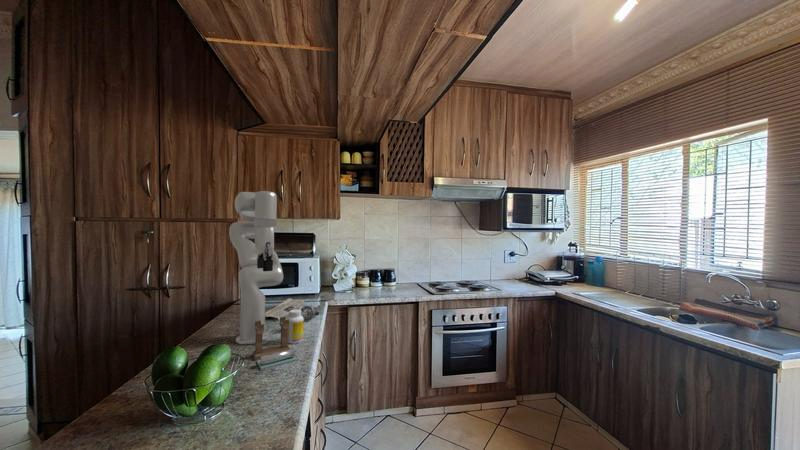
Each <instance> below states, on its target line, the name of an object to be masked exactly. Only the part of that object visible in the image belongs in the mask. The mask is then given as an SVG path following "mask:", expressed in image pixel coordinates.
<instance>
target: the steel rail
mask: <svg viewBox="0 0 800 450" xmlns="http://www.w3.org/2000/svg"><path fill="white" fill-rule="evenodd" d="M292 357H296V352H295V348H294V347H293V348H290V349H288V350H284V351H280V352H276V353H272V354H267V355H263V356H261V357H260V363H261V365H265V364H269V363H273V362H277V361H280V360H284V359H288V358H292Z"/></svg>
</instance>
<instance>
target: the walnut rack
mask: <svg viewBox="0 0 800 450" xmlns="http://www.w3.org/2000/svg"><path fill="white" fill-rule="evenodd" d="M286 318H287V316H284V317H280V320H279V326H280V344H277V345H273V346H272V345H271V346H268V347H264V348H263V333H264V324H261V321H255V331H256V340H255V343H254V345H255V348H254V350H252V356H253V358H254V360H255V361H256V362H257V360H260V357H261V356H263V355H267V354H272V353H276V352H280V351H284V350H288V349H291V348H290V347H289V345H288V342H287V336H288V328H289V319H288V318H287V319H288V320H287V319H286Z"/></svg>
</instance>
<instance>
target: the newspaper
mask: <svg viewBox="0 0 800 450" xmlns="http://www.w3.org/2000/svg"><path fill="white" fill-rule="evenodd" d="M305 304H306V302H305V301H304V300H301V299H292V298H290V297H288V298H287V299H285V300H284V301H283V302H282V303H280V304H278V305H277V306H275V307H274V308H271V309H270V310H268V311H265V320H267V319H268V318H270V317H271V318H272V319H271V321H280V317H284V316H285V317H287V316H288V315H290V311H291V310H296V309H299V308H300V307H301V308H302V307H303V306H304V305H305Z"/></svg>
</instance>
